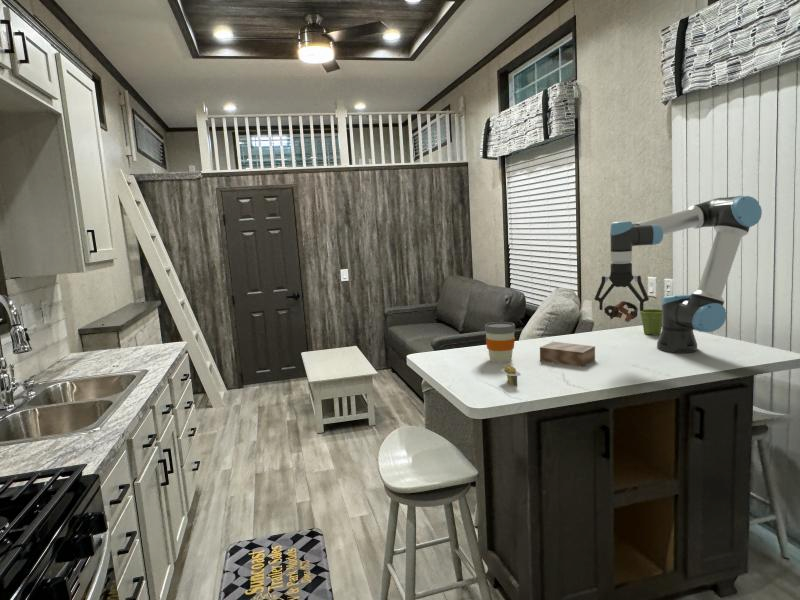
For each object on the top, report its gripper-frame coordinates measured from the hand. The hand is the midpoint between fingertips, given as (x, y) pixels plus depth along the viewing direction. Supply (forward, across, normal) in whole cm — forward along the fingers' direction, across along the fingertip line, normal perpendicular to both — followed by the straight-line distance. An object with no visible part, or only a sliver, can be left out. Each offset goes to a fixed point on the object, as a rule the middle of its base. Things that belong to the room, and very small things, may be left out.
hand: (621, 318), depth 200 cm
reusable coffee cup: (+18, +46, +6) cm, 50 cm away
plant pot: (+18, -10, -61) cm, 64 cm away
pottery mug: (+1, 0, -1) cm, 2 cm away
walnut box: (+18, +20, 0) cm, 27 cm away
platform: (+18, +34, +37) cm, 54 cm away
